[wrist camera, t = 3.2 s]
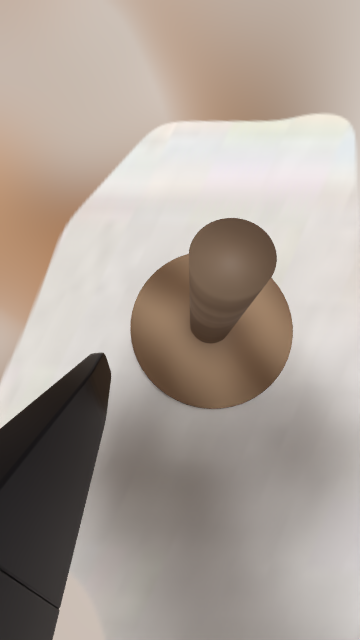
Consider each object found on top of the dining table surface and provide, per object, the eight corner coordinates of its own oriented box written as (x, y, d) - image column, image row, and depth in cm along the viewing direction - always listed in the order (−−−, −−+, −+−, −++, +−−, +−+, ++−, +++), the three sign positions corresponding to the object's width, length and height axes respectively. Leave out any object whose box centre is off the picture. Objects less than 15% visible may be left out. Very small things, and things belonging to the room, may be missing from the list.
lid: (223, 443, 17) (279, 552, 6) (103, 337, 19) (-9, 280, 9) (316, 316, 19) (483, 230, 8) (197, 233, 21) (204, 79, 10)
